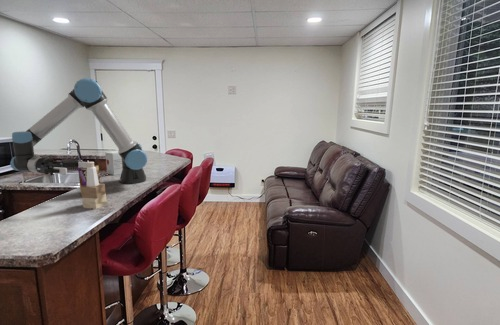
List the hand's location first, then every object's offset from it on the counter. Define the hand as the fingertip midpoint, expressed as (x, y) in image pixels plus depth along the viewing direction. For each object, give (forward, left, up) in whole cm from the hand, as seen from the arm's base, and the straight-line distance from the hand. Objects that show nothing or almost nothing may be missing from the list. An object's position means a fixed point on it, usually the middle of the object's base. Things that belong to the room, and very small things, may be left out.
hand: (78, 168), depth 133 cm
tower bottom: (0, +7, -18) cm, 19 cm away
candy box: (-14, -8, -18) cm, 24 cm away
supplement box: (-58, -27, -18) cm, 66 cm away
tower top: (0, +7, -13) cm, 15 cm away
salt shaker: (0, +7, -8) cm, 10 cm away
